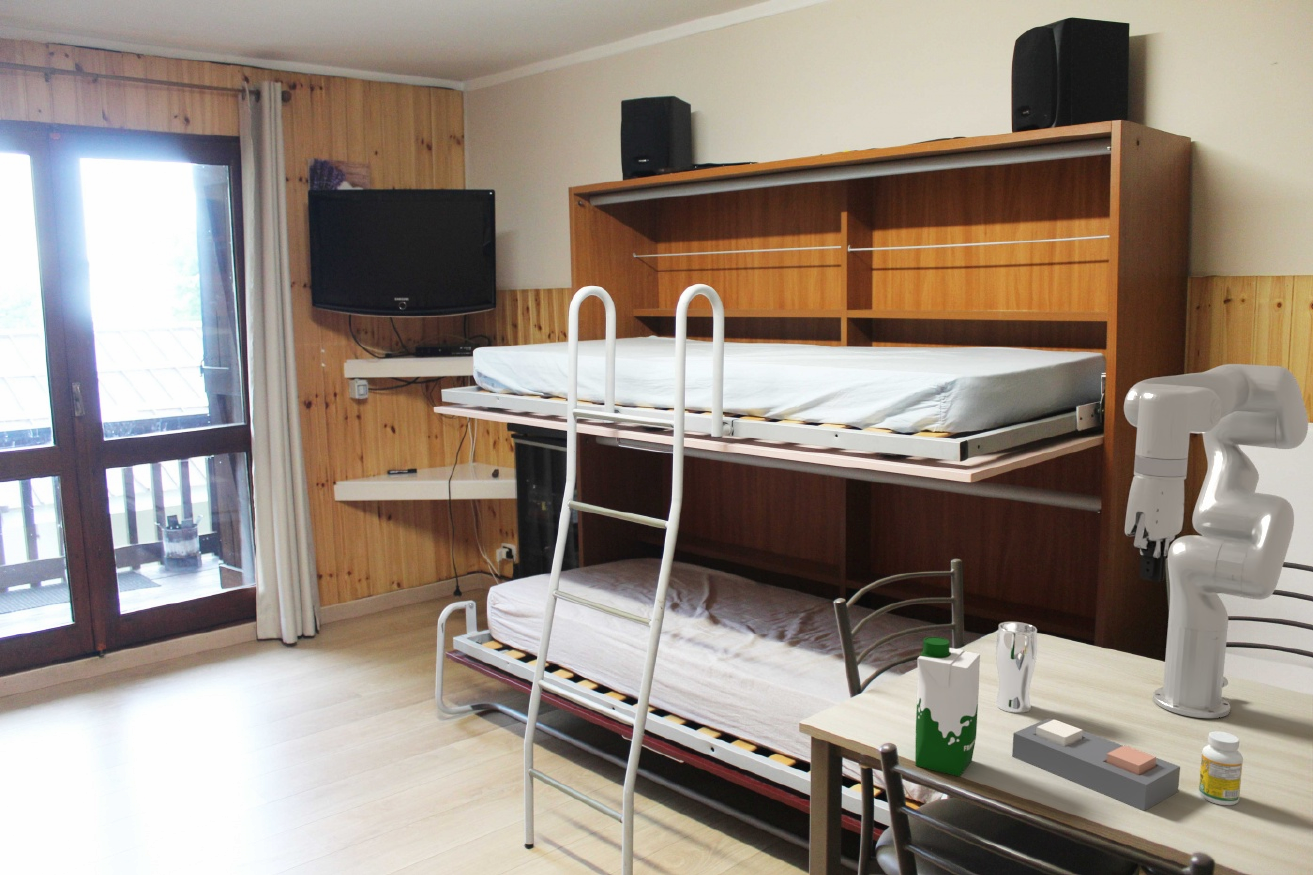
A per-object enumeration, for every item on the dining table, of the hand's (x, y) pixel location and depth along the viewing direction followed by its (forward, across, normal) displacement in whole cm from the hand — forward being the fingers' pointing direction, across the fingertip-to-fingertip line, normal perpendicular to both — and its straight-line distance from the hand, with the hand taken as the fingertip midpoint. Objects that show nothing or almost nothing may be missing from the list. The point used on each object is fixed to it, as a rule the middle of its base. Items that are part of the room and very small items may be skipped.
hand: (1151, 579), depth 166 cm
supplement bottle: (+29, +6, +16) cm, 34 cm away
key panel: (+29, +14, 0) cm, 32 cm away
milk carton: (+29, +30, -16) cm, 45 cm away
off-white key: (+27, +14, -6) cm, 31 cm away
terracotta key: (+27, +14, +6) cm, 31 cm away
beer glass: (+29, +1, -23) cm, 37 cm away
